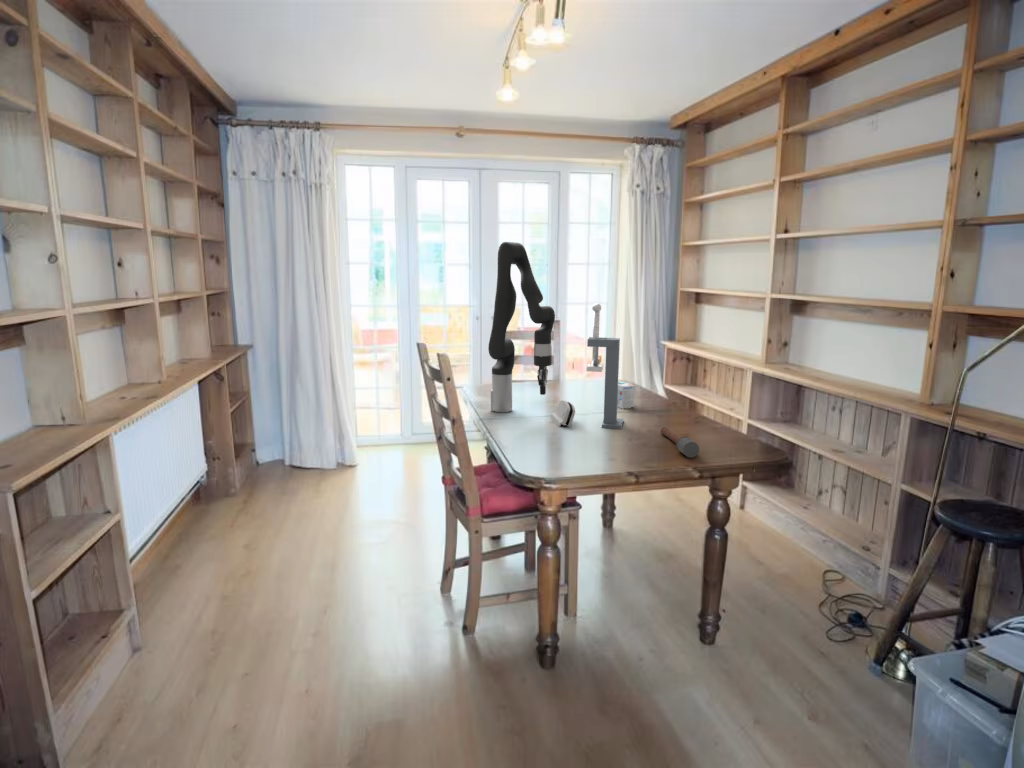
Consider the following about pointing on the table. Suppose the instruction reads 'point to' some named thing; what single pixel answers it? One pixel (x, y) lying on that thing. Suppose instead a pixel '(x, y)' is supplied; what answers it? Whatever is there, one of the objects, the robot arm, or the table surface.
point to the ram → (596, 358)
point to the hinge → (563, 413)
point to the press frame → (610, 380)
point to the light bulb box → (625, 395)
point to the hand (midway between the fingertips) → (542, 394)
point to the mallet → (682, 443)
